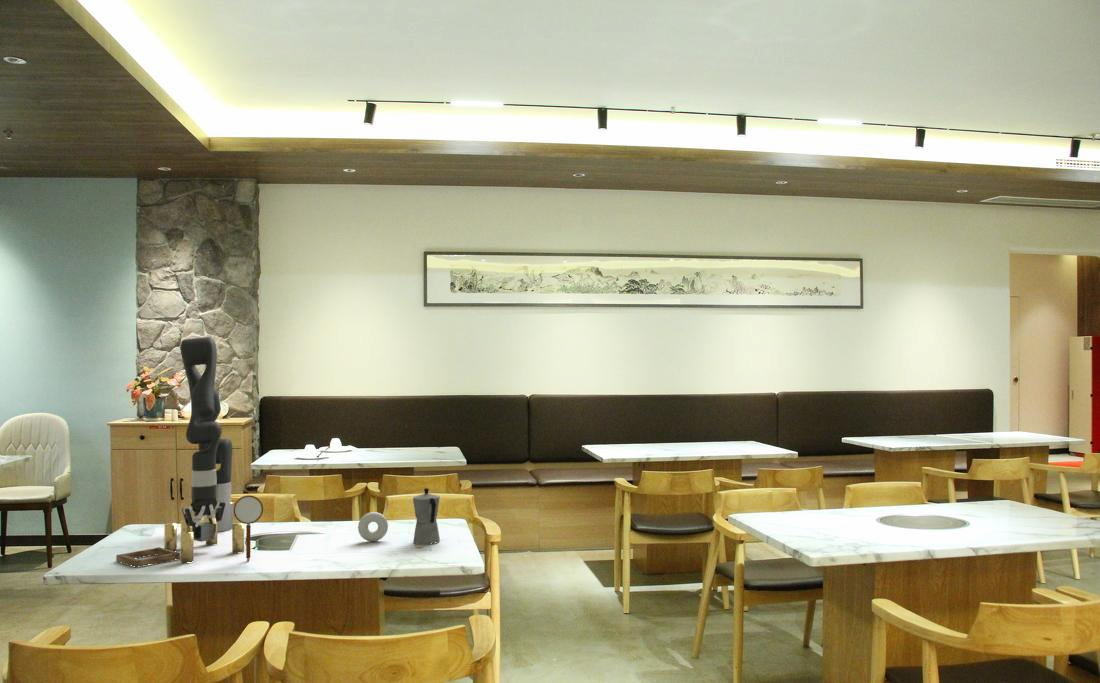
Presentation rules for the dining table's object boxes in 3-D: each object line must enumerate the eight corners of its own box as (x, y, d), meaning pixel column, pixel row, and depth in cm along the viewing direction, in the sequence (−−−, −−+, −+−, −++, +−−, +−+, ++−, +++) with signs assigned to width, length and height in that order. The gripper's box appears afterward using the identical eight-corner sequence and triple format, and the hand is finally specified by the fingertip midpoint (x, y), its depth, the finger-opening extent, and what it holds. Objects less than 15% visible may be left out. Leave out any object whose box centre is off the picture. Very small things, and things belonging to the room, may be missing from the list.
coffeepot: (407, 539, 279) (407, 486, 279) (434, 536, 283) (433, 484, 283) (420, 548, 265) (420, 492, 265) (448, 545, 269) (448, 490, 269)
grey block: (207, 537, 266) (207, 521, 266) (214, 539, 263) (214, 523, 263) (193, 539, 262) (193, 524, 262) (201, 541, 259) (201, 526, 259)
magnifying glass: (263, 559, 251) (263, 494, 251) (262, 561, 249) (262, 495, 250) (234, 561, 249) (234, 495, 250) (232, 562, 248) (233, 496, 248)
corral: (159, 553, 260) (159, 547, 260) (179, 559, 252) (180, 552, 252) (116, 561, 250) (116, 554, 250) (136, 567, 242) (136, 561, 242)
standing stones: (212, 542, 277) (212, 515, 277) (249, 551, 263) (249, 523, 263) (148, 554, 260) (148, 525, 260) (184, 564, 246) (184, 534, 246)
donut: (357, 543, 273) (357, 513, 273) (357, 541, 276) (357, 511, 277) (388, 541, 275) (388, 512, 276) (388, 539, 279) (387, 510, 279)
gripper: (218, 479, 271) (218, 531, 270) (176, 485, 259) (176, 539, 259) (230, 481, 266) (230, 534, 266) (188, 487, 255) (188, 542, 254)
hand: (204, 536), depth 262 cm, fingers closed on grey block, 4 cm apart
